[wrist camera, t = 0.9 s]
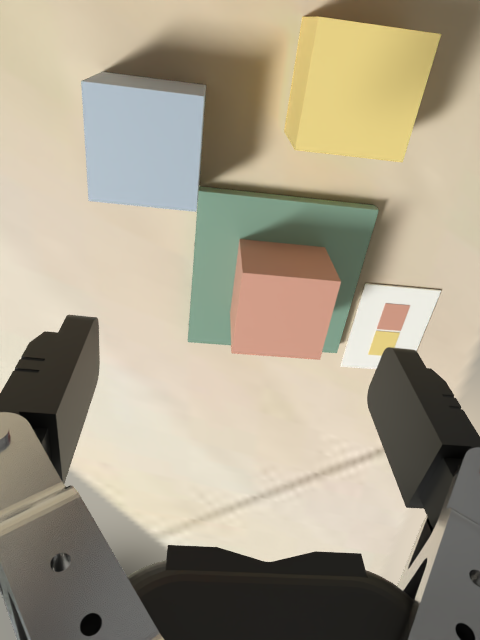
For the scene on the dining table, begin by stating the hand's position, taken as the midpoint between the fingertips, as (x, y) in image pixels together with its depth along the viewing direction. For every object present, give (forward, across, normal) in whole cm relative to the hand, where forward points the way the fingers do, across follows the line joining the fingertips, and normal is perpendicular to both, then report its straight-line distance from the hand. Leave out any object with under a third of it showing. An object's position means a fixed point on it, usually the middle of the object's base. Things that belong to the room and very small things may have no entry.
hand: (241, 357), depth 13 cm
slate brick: (+20, +5, -1) cm, 21 cm away
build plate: (+20, -4, +8) cm, 22 cm away
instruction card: (+20, -15, +11) cm, 27 cm away
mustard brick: (+20, -6, -6) cm, 22 cm away
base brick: (+19, -4, +8) cm, 21 cm away
